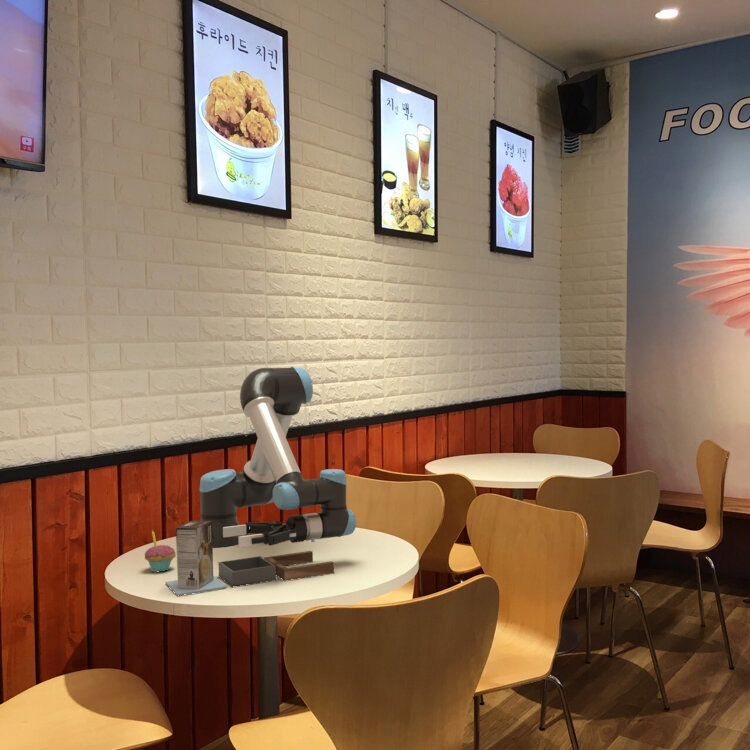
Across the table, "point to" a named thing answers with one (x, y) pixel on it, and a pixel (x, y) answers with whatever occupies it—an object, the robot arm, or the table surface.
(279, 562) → the walnut slot
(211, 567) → the coffee box
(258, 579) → the bin
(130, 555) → the table surface
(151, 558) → the cupcake
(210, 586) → the mat
